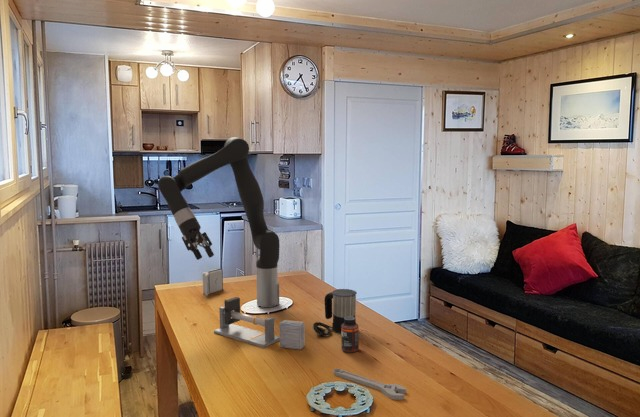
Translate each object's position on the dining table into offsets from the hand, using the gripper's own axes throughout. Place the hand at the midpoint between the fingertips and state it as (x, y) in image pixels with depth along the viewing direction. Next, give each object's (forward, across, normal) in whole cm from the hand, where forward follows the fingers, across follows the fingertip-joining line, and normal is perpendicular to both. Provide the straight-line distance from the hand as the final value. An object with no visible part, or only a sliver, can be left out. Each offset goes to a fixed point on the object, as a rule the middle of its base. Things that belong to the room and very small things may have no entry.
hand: (206, 257), depth 199 cm
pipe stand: (+34, -4, -2) cm, 34 cm away
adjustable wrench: (+66, -26, -44) cm, 83 cm away
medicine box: (+46, -7, -18) cm, 49 cm away
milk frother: (+49, +11, -27) cm, 57 cm away
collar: (+27, -2, +1) cm, 27 cm away
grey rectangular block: (+7, +42, +31) cm, 53 cm away
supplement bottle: (+56, -4, -35) cm, 66 cm away
